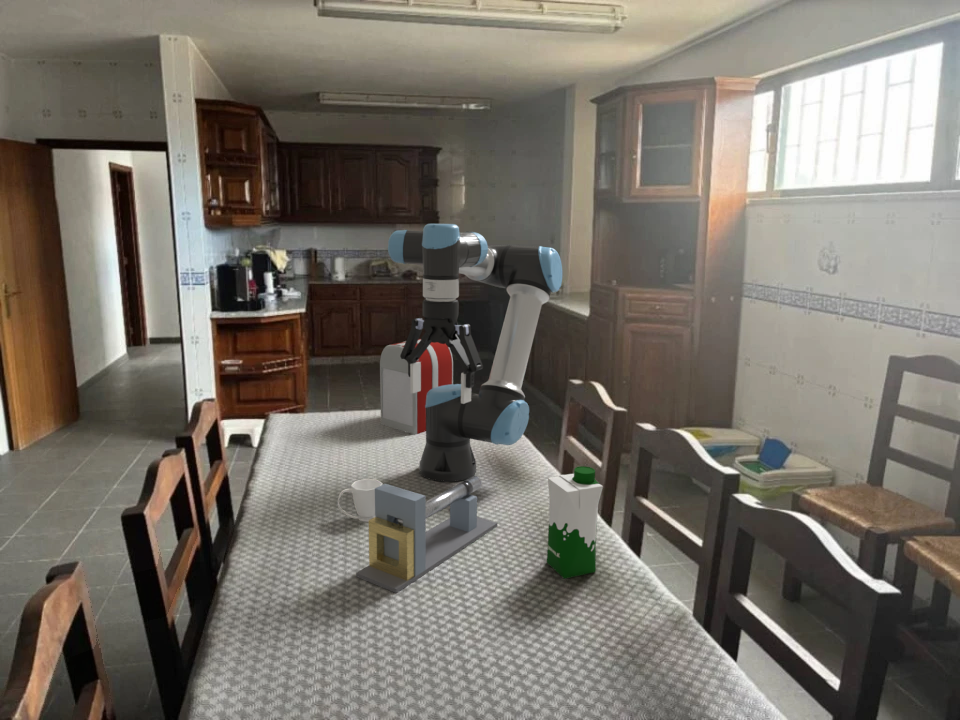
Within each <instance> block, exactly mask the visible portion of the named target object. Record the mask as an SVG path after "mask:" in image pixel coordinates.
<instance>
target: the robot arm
mask: <svg viewBox="0 0 960 720" xmlns="http://www.w3.org/2000/svg"><path fill="white" fill-rule="evenodd" d="M387 245H388V246H387V252H388V255H389V258H390V259H391V260H392V261H393V262H395V263H397V264H403V265H416V266H422V271H423V272H422V297H423V298H424V299H423V301H422V316H423V318H424V319H423V318H422V317H419V318H413V319H412V320H411V328H410V331H409V333H408V336H407V339H406V340H405V341H406V343H405V345H404V348H403V350H402V353H401V355H400V357H401V359H405V360H406V361H407V362H408V376H409V377H410V393H416V392H419V391H421V362H416V361H419V360H418V359H419V358H420V357H421V355H422V354H423V353H424V351H425V350H426V349H427V347H428V346H429V345H430V343H431V342H433V343H436V342H438V343H440V344H446V345H447V346H448V347H449V348H450V350H451V353H452V355H454V357H455V358H456V360H457V361H458V363H459V364H460V367H461V369H462V370H463V372H461V373H460V383H455V384H454V383H453V384H451V385H444V386H439V387H435V388H433V389H431V390H429V391H428V393H427V396H426V405H425V407H426V431H425V444H424V445H425V446H424V448H423V452H422V455H421V458H420V461H419V465H418V468H419V470H418V472H419V474H420V476H422V477H423V478H425V479H428V480H432V481H437V482H459V481H465V480H467V479H469V478H471V477H473V476H476V474H477V461H476V458H475V455H474V452H473V449H472V446H471V440H474V441H480V442H486V443H490V444H494V445H495V446H496V445H497V446H498V445H503V446H511V445H514V444H516V443H517V442H518V441H519V440H520V439H521V438H522V436H523V435H524V433H525V431H526V429H527V426H528V423H529V419H530V415H529V413H530V406H529V405H528V403H527V402H526V401H525V398H526V396H525V393H524V392H523V390H522V386H523V383H524V382H523V381H524V379H525V374H526V370H527V366H528V362H529V358H530V354H531V350H532V346H533V343H534V338H535V335H536V329H537V326H538V321H539V317H540V313H541V310H542V306H543V305H544V304H546V303H547V302H549V301H550V298H551V297H550V296H551V293H556V292H557V293H558V291H560V288H561V287H562V284H563V265H562V259H561V257H560V254H559V253H558V251H557V250H556V249H555V248H553V247H545V246H542V245H539V246H533V245H531V246H530V245H529V246H528V245H526V246H524V245H510V244H509V245H508V244H501V245H500V244H497V245H488V242H487V240H486V239H485V237H484V236H483V235H482V234H481V233H478V232H475V231H463V232H461V231H460V226H459V225H457V224H455V223H427V224H426V225H424V227H423V229H422V230H410V229H409V230H408V229H404V230H403V229H402V230H399V229H398V230H394V231H393V232H392V233H391V235H390V236H389V238H388V243H387ZM459 274H462V275H465V276H466V278H468V279H470V280H472V281H477V282H479V283H483V284H486V285H490V286H494V287H497V288H501V289H502V288H503V289H506V292H507V295H509V301H508V305H507V309H506V312H505V317H504V320H503V324H502V328H501V332H500V335H499V339H498V343H497V347H496V349H495V350H496V351H495V355H494V358H493V363H492V365H491V370H490V372H489V378H488V380H487V381H486V382H484V383H482V384H481V385H480V389H479V392H478V393H474V392H472V388H474V386H475V373H476V372H478V371H480V370H483V368H484V365H483V362H482V359H481V357H480V355H479V352H478V350H477V347H476V344H475V342H474V339H473V337H472V330H471V325H470V324H469V323H466V324H458V317H459V306H460V305H459V300H458V299H457V298H459V296H460V280H459V279H460V278H459V277H460V275H459ZM423 329H424V333H423V335H422V336H421V334H422V331H423ZM418 339H421V341H420V342H419V343H418V345H417V346H416V344H417V341H418ZM415 346H416V347H415Z"/></svg>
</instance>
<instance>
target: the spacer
mask: <svg viewBox="0 0 960 720" xmlns="http://www.w3.org/2000/svg"><path fill="white" fill-rule="evenodd" d="M384 536H387V537H390V538H392V539H395V540H398V541H399V561H398V560H395V559H392V558H390V557H387V556H384ZM368 558H369V559H368V561H369V562H368V563H369V564H368V566H371V567H373V568H376V569H378V570H381V571H383V572H386V573H389V574H391V575H394V576H396V577H399V578H401V579H404V580H406V581H408V580H409V579H411V578H413V577H414V530H413V529H410V528H407V527H404V526H402V525H399V524H396V523H393V522H390V521H387V520H384V519H381V518H378V517H374V518H372V519H370V520H369V522H368Z"/></svg>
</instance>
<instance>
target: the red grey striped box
mask: <svg viewBox="0 0 960 720" xmlns="http://www.w3.org/2000/svg"><path fill="white" fill-rule="evenodd" d="M420 341H421V338H419V339H418V341H417V344H416V346H417V345H418V343H419V342H420ZM405 343H406V340H405V341H402V342H397V343H393V344H389V345H386V346H385V347H383V350H382V352H381V354H380V359H379V360H380V361H379V377H380V378H379V381H380V382H379V384H380V385H379V386H380V388H379V389H380V390H379V391H380V392H379V393H380V425H383V426H384V427H385V426H386V427H388V428H392V429H395V430H398V431H402V432H404V433H408V434H411V435H418V434H423V433H426V407H425V405H426V396H427V393H428V391H429V390H431V389H433V388H435V387H439V386H444V385H451V384H454V360H453V352H452V350H451V349H450V347H448V346H447V345H446V344H440V343H438V342H436V343H433V342H431V343H430V345H429V346H428V347H427V349H426V350H425V351H424V353H423V354H422V355H421V357H420V358H419V359H418V360H419V361H416V362H421V391H419V392H416V393H410V377H409V376H408V362H407V361H406V360H405V359H401V357H400V355H401V353H402V350H403V348H404V345H405ZM416 346H415V347H416Z"/></svg>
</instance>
